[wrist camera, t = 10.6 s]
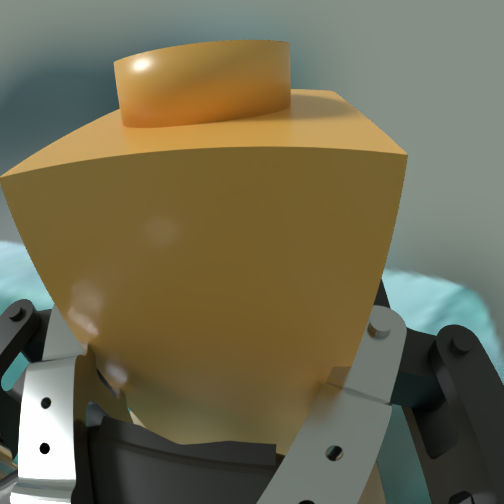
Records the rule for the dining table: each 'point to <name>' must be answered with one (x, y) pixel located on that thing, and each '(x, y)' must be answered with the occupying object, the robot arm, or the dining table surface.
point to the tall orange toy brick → (214, 238)
